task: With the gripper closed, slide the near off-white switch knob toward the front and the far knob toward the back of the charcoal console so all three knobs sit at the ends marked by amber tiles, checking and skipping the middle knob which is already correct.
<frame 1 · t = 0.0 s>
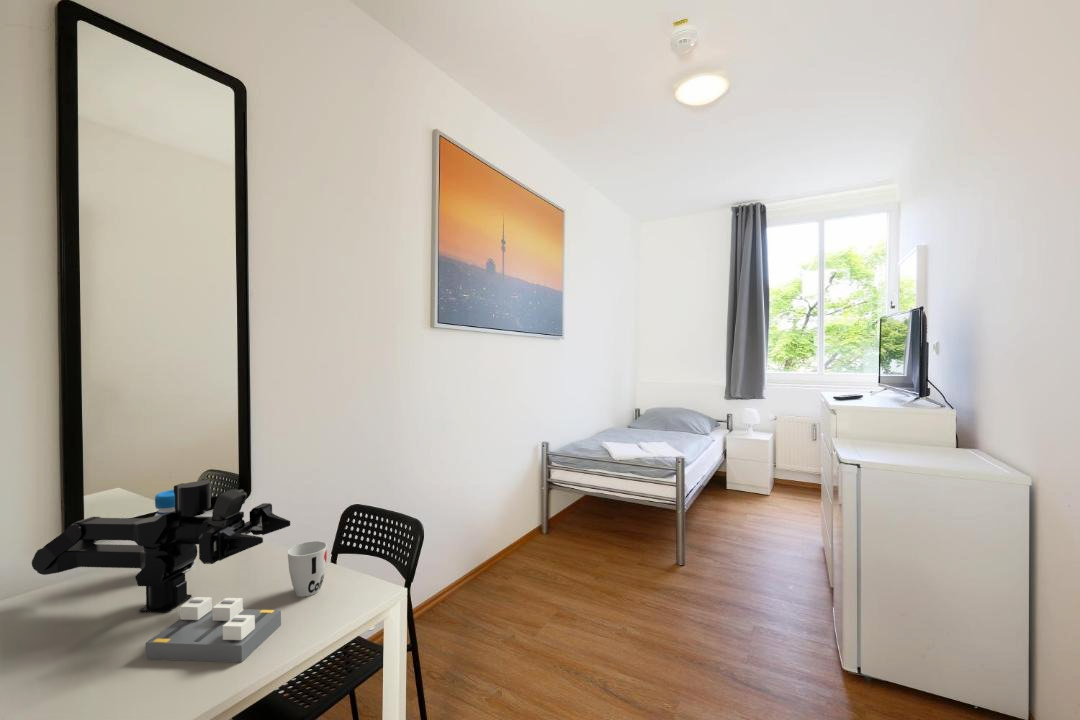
hand: (276, 531, 97), 17 cm above the table, tool horizontal, fingers open, 9 cm apart
switch middle: (227, 608, 89), point 5 cm above the table, slide at 2.8 cm
console: (217, 641, 86), on the table
cup: (308, 591, 104), on the table
beverage bottle: (173, 571, 114), on the table
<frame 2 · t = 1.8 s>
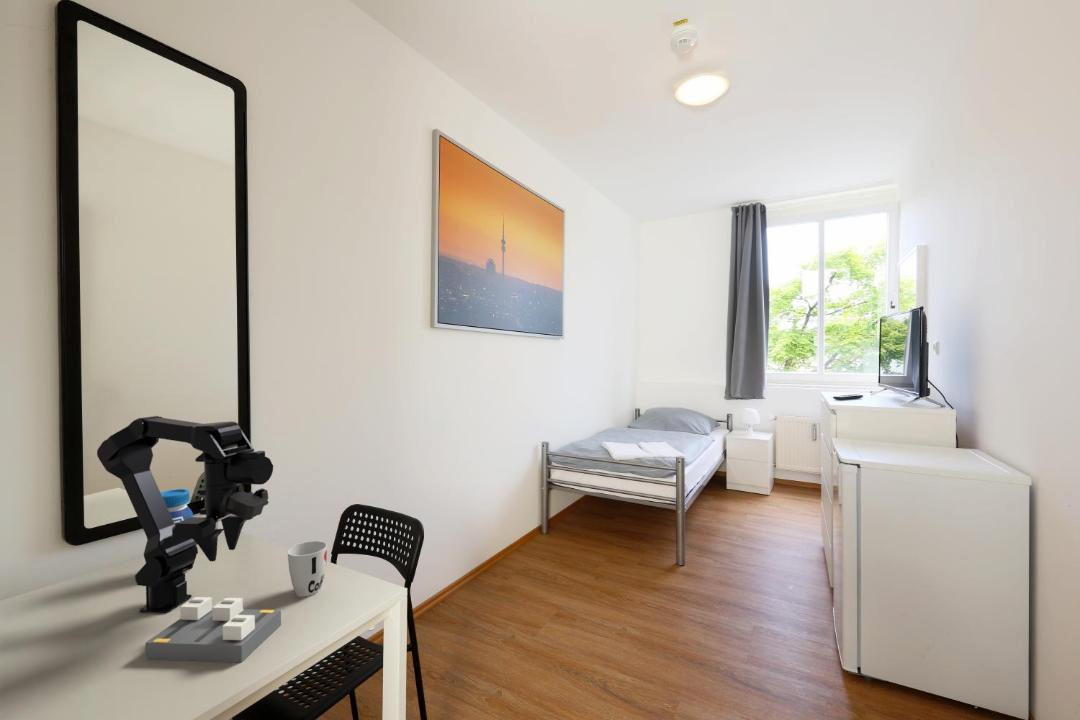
hand: (222, 555, 96), 12 cm above the table, tool pointing down, fingers open, 5 cm apart
nothing on the table moved.
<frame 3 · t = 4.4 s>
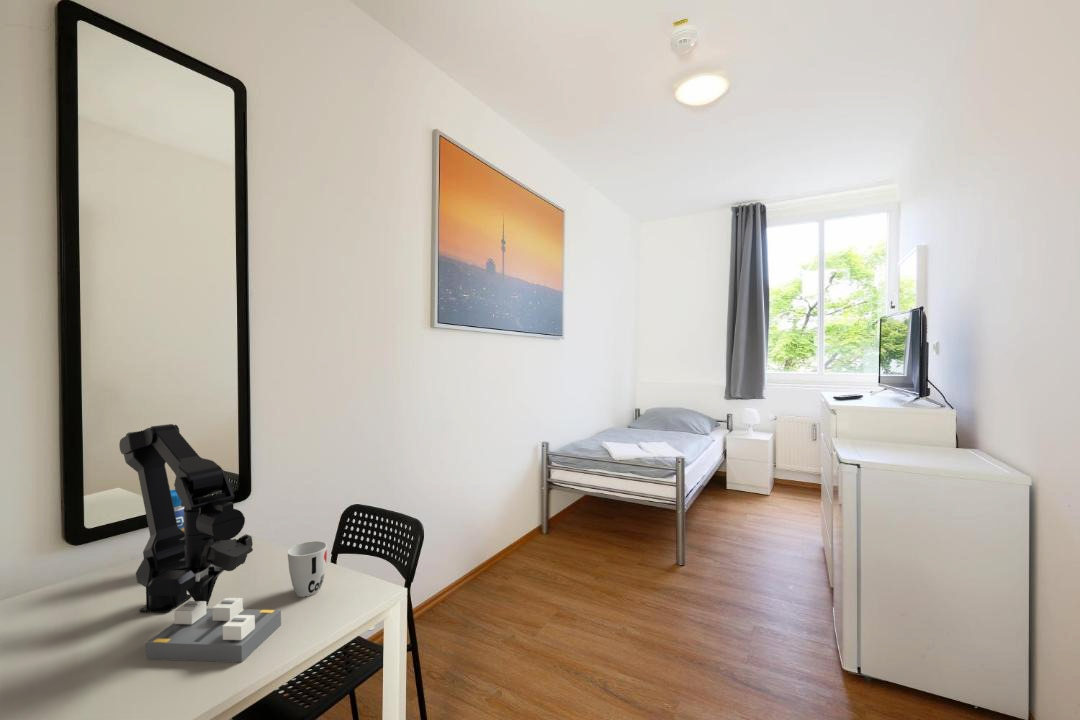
hand: (203, 607, 91), 4 cm above the table, tool pointing down, fingers closed
switch near: (190, 611, 88), point 5 cm above the table, slide at 1.4 cm, touching gripper
everything else where it was.
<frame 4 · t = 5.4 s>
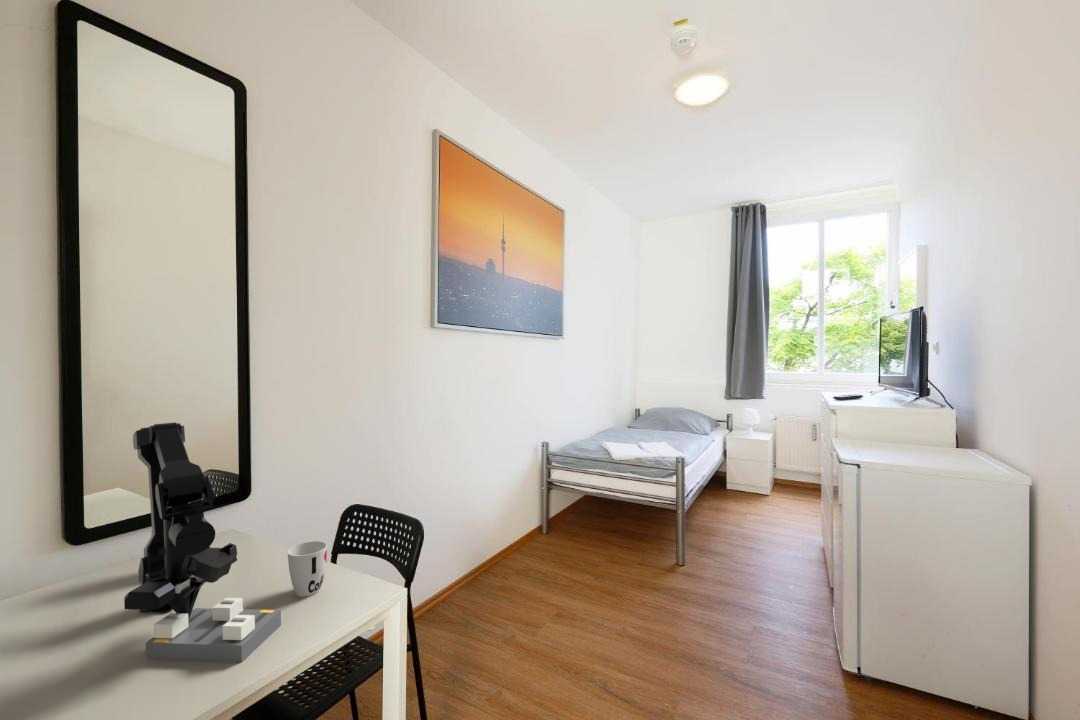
hand: (185, 619, 86), 4 cm above the table, tool pointing down, fingers closed
switch near: (171, 624, 83), point 5 cm above the table, slide at -2.9 cm, touching gripper
everything else where it was.
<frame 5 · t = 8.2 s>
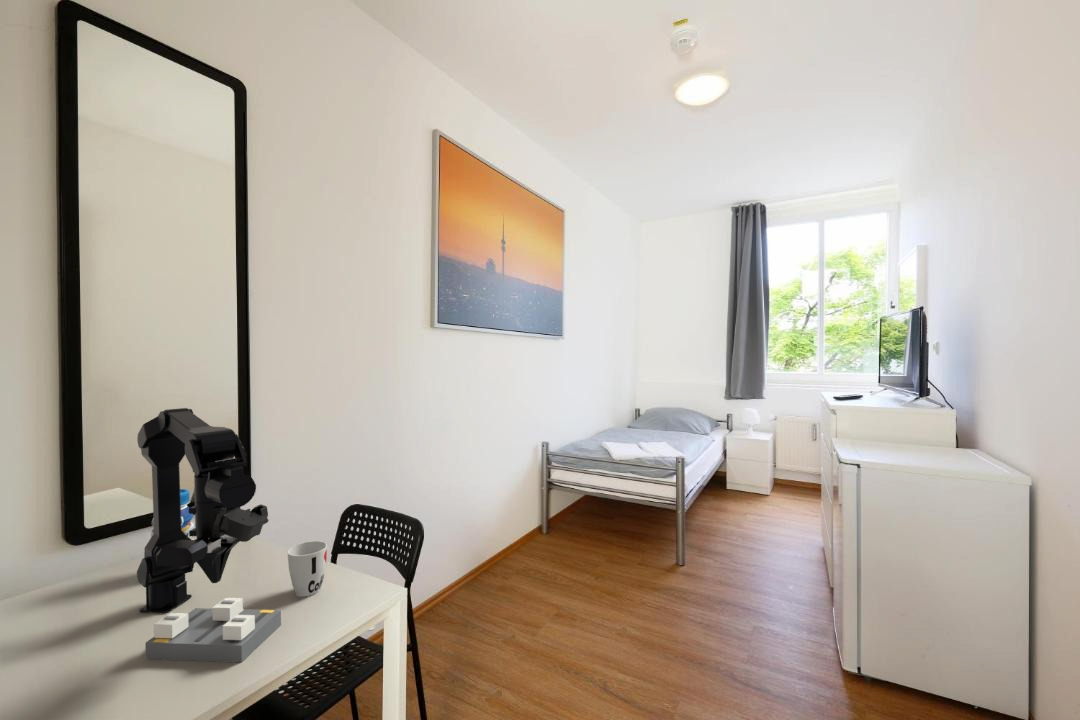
hand: (215, 582, 83), 12 cm above the table, tool pointing down, fingers closed
switch near: (171, 624, 83), point 5 cm above the table, slide at -2.8 cm
everything else where it was.
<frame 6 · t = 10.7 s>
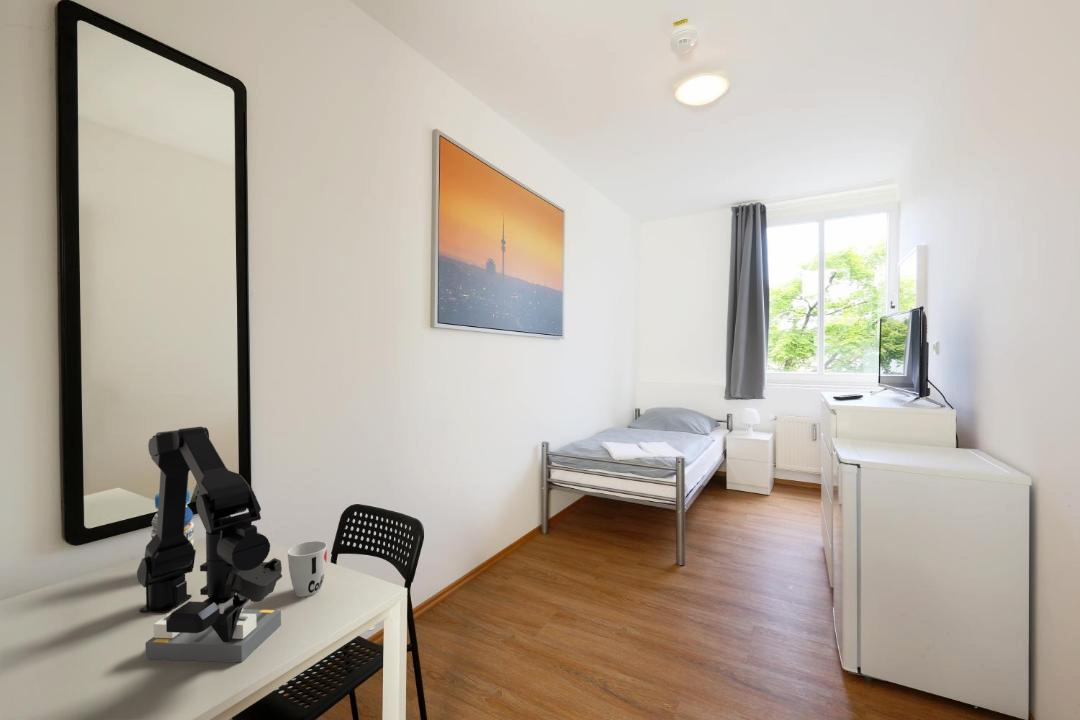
hand: (227, 641, 80), 4 cm above the table, tool pointing down, fingers closed
switch far: (240, 624, 83), point 5 cm above the table, slide at -2.4 cm, touching gripper
everything else where it was.
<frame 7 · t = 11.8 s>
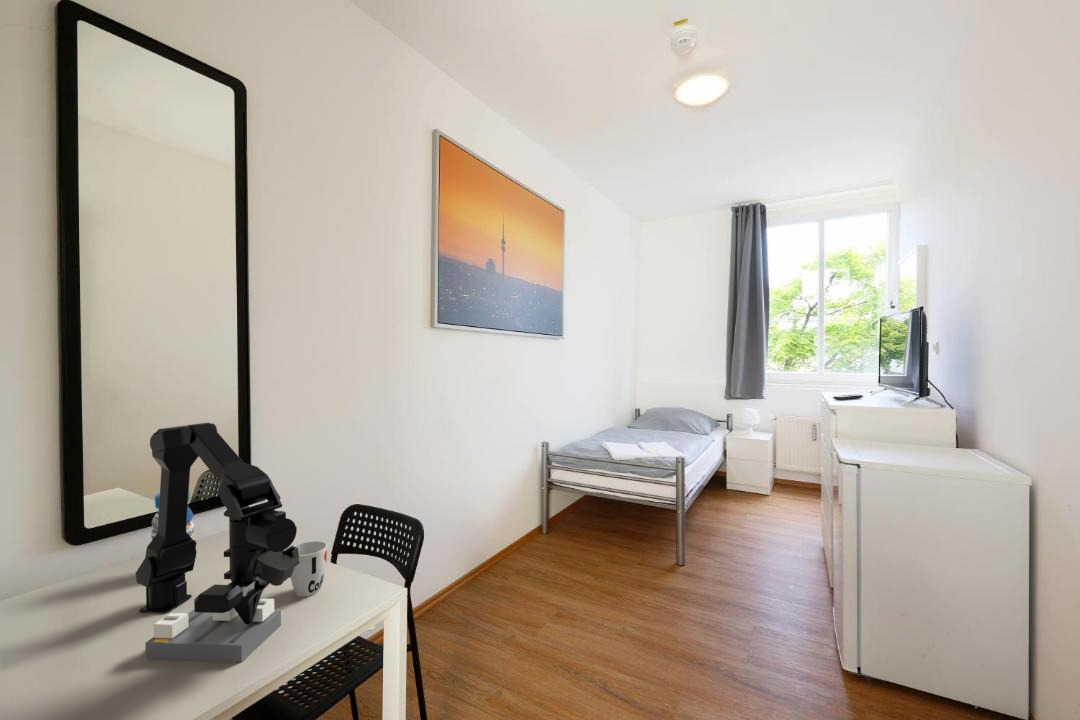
hand: (248, 623, 85), 4 cm above the table, tool pointing down, fingers closed
switch far: (259, 609, 88), point 5 cm above the table, slide at 2.9 cm, touching gripper
everything else where it was.
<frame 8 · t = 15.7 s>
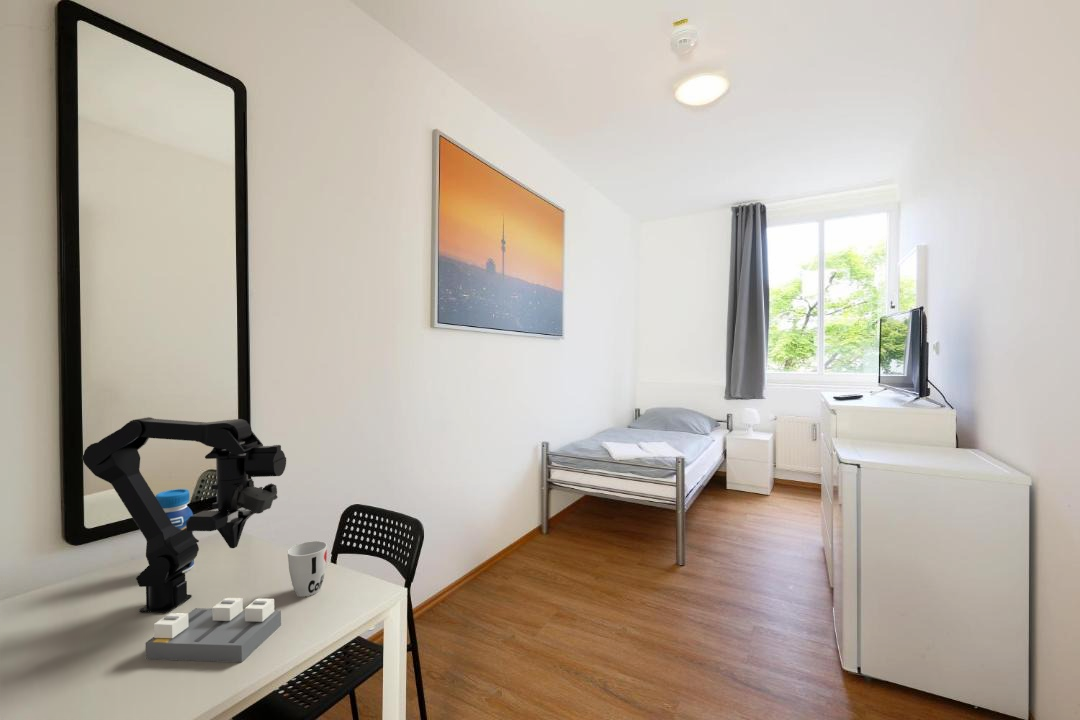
hand: (233, 547, 100), 12 cm above the table, tool pointing down, fingers closed
switch far: (259, 609, 88), point 5 cm above the table, slide at 2.8 cm
everything else where it was.
at the end: switch near slide at -2.8 cm; switch middle slide at 2.8 cm; switch far slide at 2.8 cm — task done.
